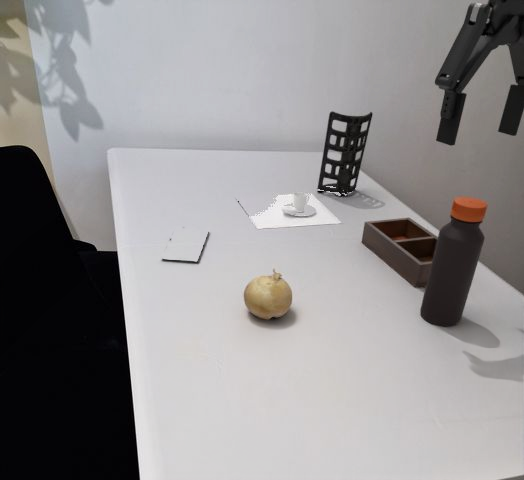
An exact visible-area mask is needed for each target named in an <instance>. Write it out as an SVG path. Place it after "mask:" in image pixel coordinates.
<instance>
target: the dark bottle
mask: <svg viewBox="0 0 524 480" xmlns="http://www.w3.org/2000/svg"><path fill="white" fill-rule="evenodd" d="M487 209H488V203H487V202H486V201H484V200H482V199H480V198H476V197H472V196H458V197H455V198H454V199H453V201H452V206H451V209H450V215H449V218H450V221H449V222H448V223H446V224H445V225H443V226H442V227H441V228H440V230H439V232H438V236H437V237H438V239H437V244H436V248H435V252H434V256H433V260H432V264H431V268H430V272H429V276H428V280H427V285H426V286H425V288H424V292H423V297H422V301H421V305H420V309H419V312H420V316H421V318H422V319H424V320H425V321H426V322H428V323H430V324H433V325H435V326H440V327H452V326H456V325H458V324H460V322H461V320H462V317H463V313H464V310H465V307H466V303H467V300H468V297H469V293H470V290H471V286H472V283H473V279H474V276H475V273H476V269H477V266H478V263H479V259H480V256H481V254H482V253H481V252H482V249H483V246H484V242H485V238H486V237H485V234H484V232H483V231H482V229H481V228H480V225H481V224H483V222H484V219H485V216H486V212H487Z"/></svg>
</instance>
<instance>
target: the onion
mask: <svg viewBox="0 0 524 480" xmlns="http://www.w3.org/2000/svg"><path fill="white" fill-rule="evenodd" d="M275 270H276V269H275V268H273V269H272V272H273V274H271V275H260V276H259V275H258V276H257V277H255V278H253V279H251V280H250V281H249V282H248V283H247V285H246V286H245V288H244V291H243V301H244V305H245V307H246V308H247V310H248V311H249V312H250V313H251V314H252V315H254V316H255V317H257V318H259V319H262V320H271V318H280V317H282V316H284V315H285V314H286V313H287V312H288V311H289V309H290V308H291V306H292V303H293V291H292V288H291V286H290V285H289V283H288V282H287V281H286V280H285V279H284V278H283V277H282V275H283V274H282V273H281V272H276V271H275Z"/></svg>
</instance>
